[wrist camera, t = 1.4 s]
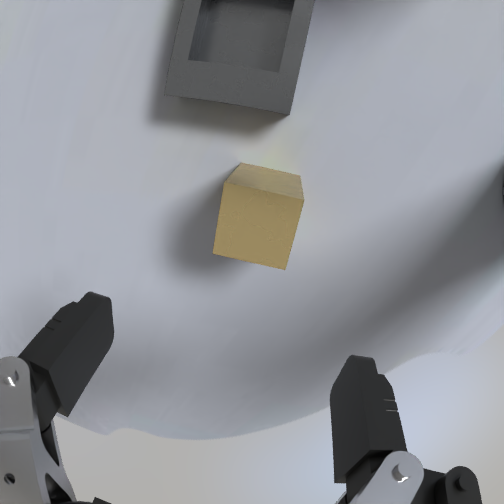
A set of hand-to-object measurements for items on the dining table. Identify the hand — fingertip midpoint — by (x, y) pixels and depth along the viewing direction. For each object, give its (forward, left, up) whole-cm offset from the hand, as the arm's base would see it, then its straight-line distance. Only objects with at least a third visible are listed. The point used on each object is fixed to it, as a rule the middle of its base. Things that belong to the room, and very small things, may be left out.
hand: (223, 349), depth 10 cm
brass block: (0, 0, -18) cm, 18 cm away
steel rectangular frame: (+4, -17, -18) cm, 25 cm away
